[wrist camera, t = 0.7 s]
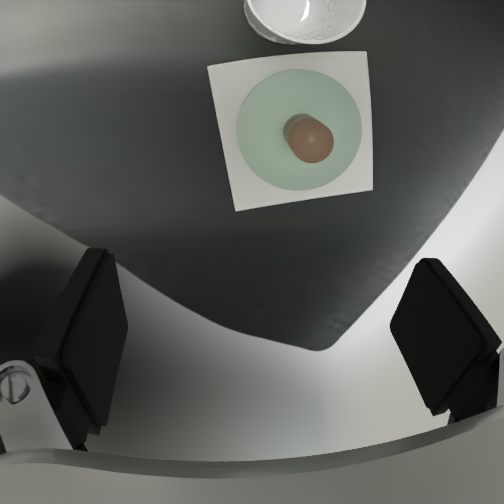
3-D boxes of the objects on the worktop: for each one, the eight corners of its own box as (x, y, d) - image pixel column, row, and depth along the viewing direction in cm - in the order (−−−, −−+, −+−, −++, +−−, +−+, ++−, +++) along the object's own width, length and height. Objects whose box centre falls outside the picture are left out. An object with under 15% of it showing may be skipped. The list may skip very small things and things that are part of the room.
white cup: (229, -19, 21) (231, -53, 13) (314, -29, 21) (351, -61, 12) (248, 55, 25) (259, 52, 17) (331, 43, 25) (376, 39, 17)
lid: (353, 65, 26) (375, 68, 22) (360, 178, 32) (379, 198, 28) (226, 78, 26) (226, 81, 22) (247, 195, 33) (251, 218, 28)
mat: (364, 51, 25) (366, 51, 25) (370, 188, 34) (372, 190, 33) (207, 66, 26) (207, 66, 25) (235, 209, 34) (235, 211, 33)
